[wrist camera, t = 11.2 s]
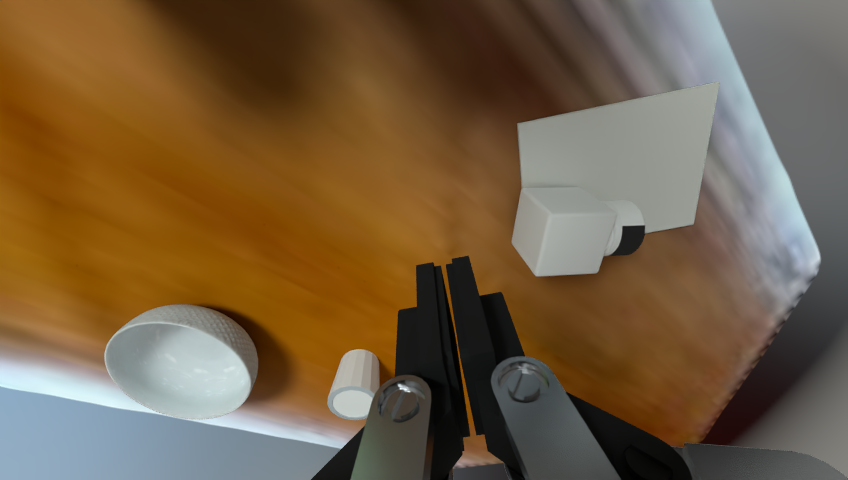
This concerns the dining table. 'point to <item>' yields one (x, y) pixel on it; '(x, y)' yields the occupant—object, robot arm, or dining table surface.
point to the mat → (627, 152)
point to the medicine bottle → (573, 230)
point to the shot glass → (354, 385)
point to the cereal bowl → (183, 361)
